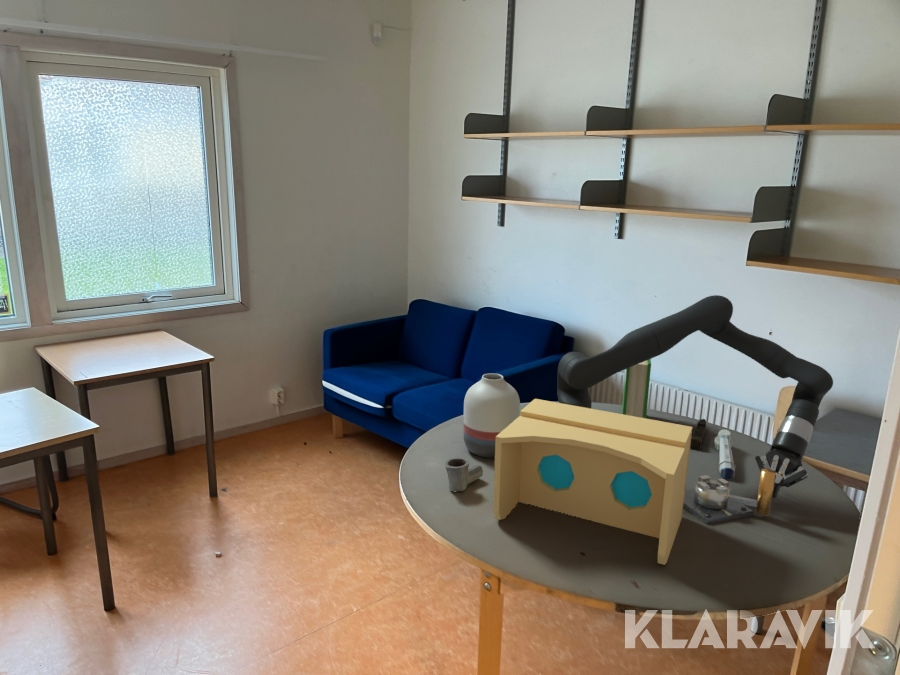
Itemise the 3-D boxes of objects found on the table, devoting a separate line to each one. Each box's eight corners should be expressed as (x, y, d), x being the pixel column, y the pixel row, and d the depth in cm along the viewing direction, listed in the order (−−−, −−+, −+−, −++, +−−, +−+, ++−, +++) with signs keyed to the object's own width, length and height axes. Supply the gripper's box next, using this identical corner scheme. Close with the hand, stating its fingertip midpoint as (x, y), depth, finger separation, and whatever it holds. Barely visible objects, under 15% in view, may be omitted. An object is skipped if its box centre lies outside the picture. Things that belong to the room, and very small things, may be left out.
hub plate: (706, 524, 158) (707, 518, 157) (670, 497, 171) (670, 492, 170) (752, 515, 162) (753, 509, 162) (713, 489, 175) (714, 484, 175)
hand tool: (700, 452, 199) (701, 438, 198) (686, 449, 201) (688, 435, 200) (711, 432, 215) (713, 419, 214) (698, 429, 217) (700, 416, 216)
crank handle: (692, 504, 164) (697, 464, 161) (696, 490, 171) (700, 452, 168) (769, 520, 157) (775, 479, 154) (769, 506, 164) (775, 466, 161)
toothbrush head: (718, 466, 181) (716, 423, 203) (715, 486, 183) (713, 441, 205) (738, 469, 179) (734, 425, 201) (735, 489, 182) (731, 444, 203)
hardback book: (644, 433, 212) (651, 363, 206) (621, 431, 214) (627, 361, 208) (643, 414, 229) (649, 349, 222) (621, 412, 230) (627, 347, 224)
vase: (473, 435, 209) (475, 365, 203) (524, 443, 203) (527, 372, 197) (454, 456, 194) (456, 381, 188) (509, 465, 188) (512, 388, 182)
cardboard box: (682, 517, 161) (692, 426, 155) (663, 572, 139) (674, 469, 133) (531, 481, 179) (534, 398, 173) (492, 524, 157) (495, 431, 150)
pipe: (486, 482, 178) (487, 455, 176) (454, 498, 169) (455, 470, 167) (470, 474, 182) (470, 448, 180) (438, 490, 173) (438, 462, 171)
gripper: (822, 452, 164) (799, 512, 159) (768, 437, 174) (744, 493, 168) (818, 438, 160) (794, 500, 154) (763, 423, 169) (738, 482, 163)
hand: (768, 497), depth 161 cm, fingers closed
